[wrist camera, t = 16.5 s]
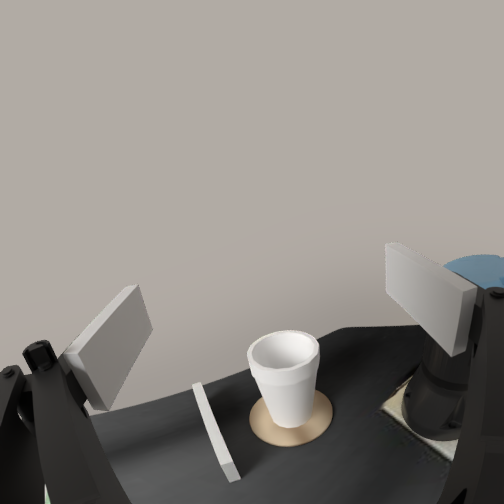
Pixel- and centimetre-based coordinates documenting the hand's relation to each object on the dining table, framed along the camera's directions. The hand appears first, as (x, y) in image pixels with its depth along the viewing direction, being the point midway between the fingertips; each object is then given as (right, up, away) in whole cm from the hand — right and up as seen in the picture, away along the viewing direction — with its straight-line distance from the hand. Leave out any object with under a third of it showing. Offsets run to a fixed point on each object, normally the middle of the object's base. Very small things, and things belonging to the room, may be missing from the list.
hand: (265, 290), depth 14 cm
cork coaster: (+5, -24, +25) cm, 35 cm away
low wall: (-6, -26, +23) cm, 35 cm away
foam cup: (+6, -23, +25) cm, 35 cm away
